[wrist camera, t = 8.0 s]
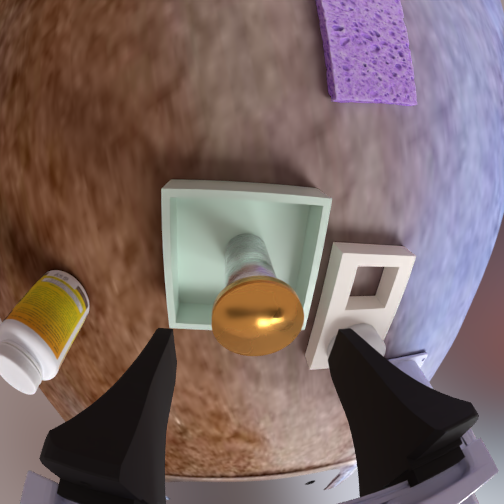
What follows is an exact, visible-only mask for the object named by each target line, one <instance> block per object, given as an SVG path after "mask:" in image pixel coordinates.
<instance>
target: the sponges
mask: <svg viewBox="0 0 504 504" xmlns="http://www.w3.org/2000/svg"><path fill="white" fill-rule="evenodd" d="M315 1H316V6H317V12H318V17H319V20H320V23H319V24H320V31H321V36H322V40H323V48H324V51H325V52H324V56H325V65H326V68H327V84H328V93H329V95H330V96H331V101H332V102H333V101H335V102H340V103H343V102H358V103H386V104H396V105H404V106H411V105H417V102H416V89H415V83H414V70H413V65H412V59H411V55H410V53H411V52H410V50H409V47H408V46H409V41H408V34H407V29H406V25H405V24H404V22H403V19H402V18H403V17H404V16H403V11H402V6H401V2H400V0H315Z"/></svg>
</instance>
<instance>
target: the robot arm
mask: <svg viewBox="0 0 504 504" xmlns="http://www.w3.org/2000/svg"><path fill="white" fill-rule="evenodd" d="M427 356H428V354H427V353H426V352H424V353H420V354H415V355H410V356H405V357H400V358H395V359H389V360H387V359H386V358H385V357H383V356H382V355H381V354H380V353H379V352H378V351H376V350H375V349H374V348H373V347H372V346H371V345H370V344H368V343H367V342H366V341H365V340H364V339H363V338H362V337H360V336H359V335H358V334H357V333H356V332H355V331H353V330H352V329H351V328H347V329H339V330H338V333H337V336H336V338H335V341H334V344H333V347H332V350H331V352H330V355H329V358H328V364H329V369H330V373H331V377H332V380H333V383H334V386H335V388H336V391H337V393H338V396H339V398H340V401H341V404H342V406H343V409H344V411H345V414H346V416H347V419H348V422H349V426H350V430H351V434H352V439H353V443H354V448H355V454H356V460H357V467H358V476H359V491H360V498H356V499H353V500H349V501H346V502H342V503H338V504H479V502H478V500H477V498H476V496H475V494H474V492H475V491H476V490H478V489H479V488H480V487H481V486H483V485H484V484H485V483H486V482H487V481H489V480H490V479H491V478H492V477H493V476H495V475H496V474H497V473H498V469H497V467H496V465H495V463H494V461H493V459H492V457H491V456H490V454H489V452H488V450H487V448H486V446H485V444H484V443H483V441H482V439H481V438H479V439H476V437H475V435H474V434H473V431H472V430H471V427H472V426H473V425H474V424H475V422H476V421H477V420H478V417H479V415H478V413H477V411H476V410H475V408H474V407H473V405H472V404H471V403H470V402H466V401H463V400H459V399H456V398H453V397H450V396H448V395H445V394H442V393H440V392H438V391H436V390H434V389H433V388H432V386H431V385H430V383H429V381H428V380H427V378H426V377H425V375H424V374H423V372H422V371H421V369H420V368H421V366H422V364H423V363H424V361H425V359H426V358H427ZM176 367H177V359H176V352H175V344H174V336H173V329H165V328H158V329H157V330H156V331H155V333H154V334H153V336H152V338H151V339H150V341H149V342H148V344H147V345H146V346H145V348H144V349H143V351H142V352H141V353H140V355H139V356H138V357H137V359H136V360H135V361H134V362H133V364H132V365H131V366H130V367H129V368H128V370H127V371H126V372H125V373H124V374H123V375H122V377H121V378H120V379H119V380H118V381H117V382H116V383H115V384H114V385H113V386H112V387H111V388H110V389H109V390H108V391H107V392H106V393H105V394H103V395H102V396H101V397H100V398H99V399H98V400H97V401H95V402H94V403H93V404H92V405H90V406H89V407H88V408H86V409H85V410H83V411H82V412H81V413H79V414H78V415H76V416H75V417H73V418H72V419H70V420H69V421H67V422H65V423H63V424H61V425H60V426H58V427H56V428H54V429H52V430H50V431H49V433H48V435H47V437H46V439H45V442H44V445H43V449H42V452H41V455H40V461H41V462H42V464H43V465H44V466H45V467H47V468H48V469H49V470H50V471H51V472H53V473H54V474H55V475H57V476H58V477H59V478H60V482H59V484H58V483H56V482H54V481H52V480H50V479H48V478H46V477H43V476H41V475H39V474H36V473H35V472H32V471H28V473H27V476H26V480H25V484H24V488H23V492H22V497H21V502H20V504H166V498H165V444H166V430H167V423H168V417H169V412H170V407H171V402H172V396H173V391H174V386H175V379H176Z"/></svg>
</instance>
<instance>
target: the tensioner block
mask: <svg viewBox="0 0 504 504" xmlns="http://www.w3.org/2000/svg"><path fill="white" fill-rule="evenodd" d="M415 258H416V256H415V255H414V254H413V253H412V252H410V251H409V250H408V249H407V248H405V247H404V246H392V245H376V244H360V243H342V242H333V245H332V250H331V255H330V259H329V264H328V268H327V273H326V277H325V281H324V285H323V290H322V294H321V298H320V302H319V306H318V310H317V313H316V317H315V321H314V325H313V328H312V332H311V336H310V339H309V343H308V346H307V350H306V353H305V357H306V360H307V363H308V366H309V369H310V370H315V369H326V368H329V364H328V358H329V355H330V352H331V350H332V347H333V344H334V341H335V338H336V336H337V333H338V330H339V329H347V328H351V329H352V330H353V331H355V332H356V333H357V334H358V335H359V336H360V337H362V338H363V339H364V340H365V341H366V342H367V343H368V344H370V345H371V346H372V347H373V348H374V349H375V350H376V351H378V352H379V353H380V354H381V355H382V356H383V357H384V354H385V351H386V346H385V344H384V342H383V341H384V339H385V337H386V335H387V332H388V330H389V328H390V325H391V323H392V321H393V318H394V316H395V314H396V311H397V309H398V306H399V304H400V301H401V298H402V296H403V293H404V291H405V288H406V285H407V282H408V279H409V277H410V274H411V271H412V268H413V265H414V262H415ZM358 266H371V267H384V270H383V273H382V277H381V280H380V283H379V286H378V289H377V292H376V295H375V296H349V295H350V292H351V289H352V285H353V282H354V278H355V275H356V271H357V267H358Z"/></svg>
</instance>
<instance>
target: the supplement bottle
mask: <svg viewBox="0 0 504 504" xmlns="http://www.w3.org/2000/svg"><path fill="white" fill-rule="evenodd" d="M88 313H89V299H88V296H87V294H86V291H85V290H84V288H83V286H82V285H81V284H80V283H79V281H78V280H77V279H75V278H74V277H73V276H71V275H70V274H68V273H66V272H64V271H60V270H52V271H49V272H47V273H45V274H44V275H43V276H42V277H41V278H40V279H39V280H38V281H37V282H36V283H35V284H34V286H33V287H32V288H31V289H30V290H29V291H28V292H27V293H26V294H25V296H24V297H23V298H22V299H21V300H20V301H19V303H18V304H17V305H16V306H15V307H14V309H13V310H12V311H11V312H10V313H9V315H8V316H7V317H6V318H5V319H4V321H3V322H2V324H1V325H0V375H1V376H2V377H3V378H4V379H5V380H6V381H7V382H8V383H9V384H10V385H11V386H13V387H14V388H16V389H17V390H19V391H21V392H23V393H26V394H34V393H35V392H36V390H37V388H38V386H39V384H40V383H41V380H50V379H52V378H54V377H55V375H56V374H57V372H58V370H59V368H60V366H61V364H62V362H63V360H64V358H65V356H66V354H67V352H68V350H69V349H70V347H71V345H72V343H73V341H74V339H75V337H76V335H77V334H78V332H79V330H80V328H81V326H82V324H83V323H84V321H85V319H86V317H87V315H88Z"/></svg>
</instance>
